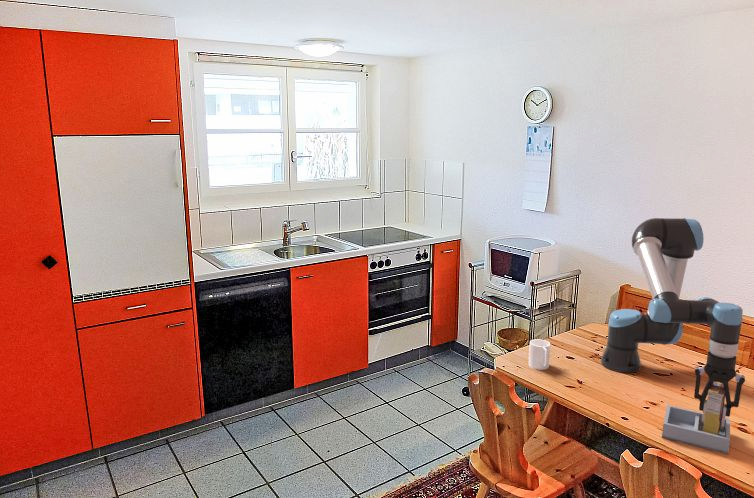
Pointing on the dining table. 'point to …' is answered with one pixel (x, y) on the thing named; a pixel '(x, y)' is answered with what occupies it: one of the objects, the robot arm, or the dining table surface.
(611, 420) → the dining table surface
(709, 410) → the candy box
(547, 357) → the cup
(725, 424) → the bin
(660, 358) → the dining table surface
